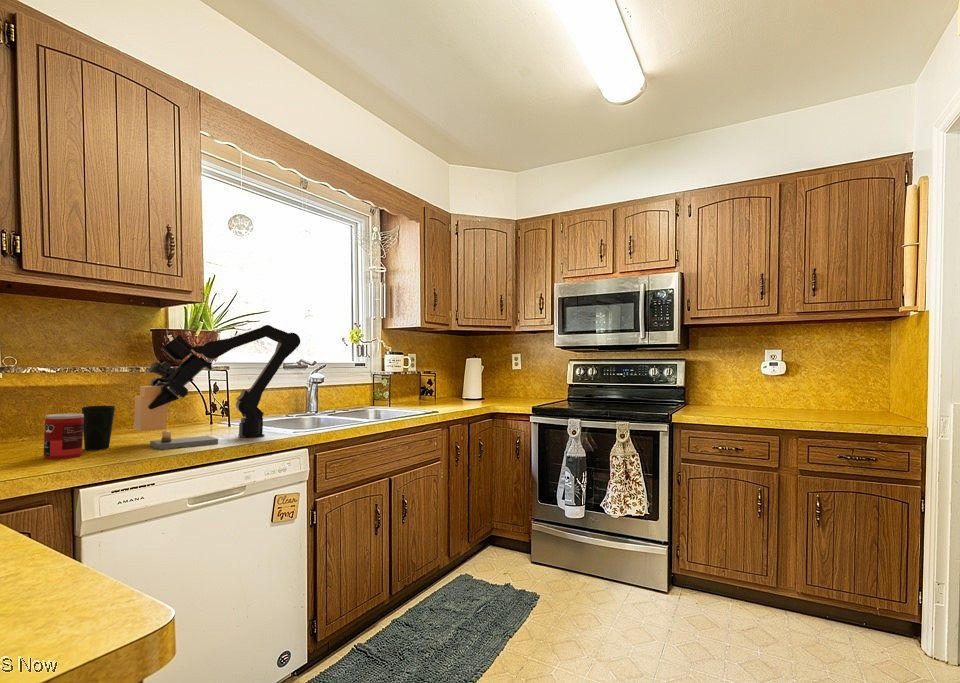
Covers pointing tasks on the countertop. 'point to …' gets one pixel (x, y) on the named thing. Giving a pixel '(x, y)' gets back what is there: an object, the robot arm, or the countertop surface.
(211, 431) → the countertop surface
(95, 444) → the cup
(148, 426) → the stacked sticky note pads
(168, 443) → the board
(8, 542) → the countertop surface
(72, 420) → the canned food
